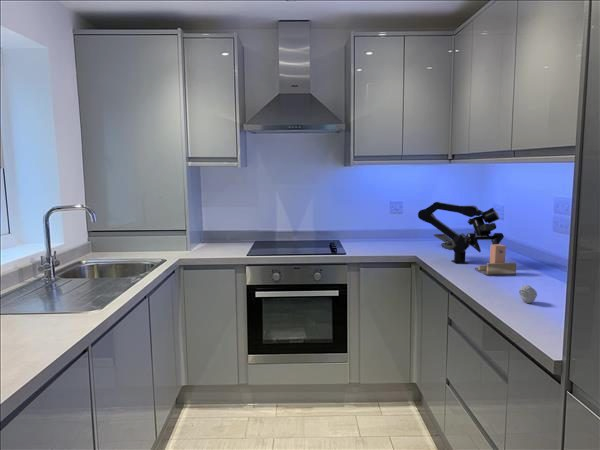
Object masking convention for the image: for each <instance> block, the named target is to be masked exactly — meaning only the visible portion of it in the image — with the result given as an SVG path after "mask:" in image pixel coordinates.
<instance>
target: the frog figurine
mask: <svg viewBox="0 0 600 450" xmlns="http://www.w3.org/2000/svg"><path fill="white" fill-rule="evenodd" d="M518 293H519V296H520V298H521V300H522V301H523V302H524V303H526V304H532V303H534V301H536V298H537V297H538V293H537V291H536V289H535V288H533V287H532V286H531V285H528V284H526V285H521V288H520V289H519V291H518Z"/></svg>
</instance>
